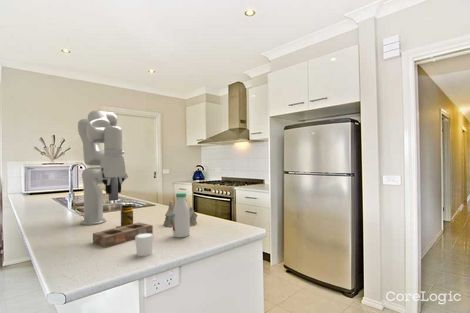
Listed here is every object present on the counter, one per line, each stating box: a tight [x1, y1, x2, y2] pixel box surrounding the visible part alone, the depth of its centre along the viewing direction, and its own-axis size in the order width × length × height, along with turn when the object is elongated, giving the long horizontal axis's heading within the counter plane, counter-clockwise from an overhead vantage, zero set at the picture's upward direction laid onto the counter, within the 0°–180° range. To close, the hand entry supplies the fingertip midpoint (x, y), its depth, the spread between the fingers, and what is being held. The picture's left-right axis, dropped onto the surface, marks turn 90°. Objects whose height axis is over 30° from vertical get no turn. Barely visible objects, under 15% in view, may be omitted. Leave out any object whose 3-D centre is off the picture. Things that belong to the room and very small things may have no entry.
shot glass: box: [134, 233, 155, 257], centre depth 99 cm, size 7×7×7 cm
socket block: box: [92, 222, 154, 248], centre depth 118 cm, size 11×23×4 cm, turn 146°
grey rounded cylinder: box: [108, 177, 119, 202], centre depth 118 cm, size 4×4×12 cm
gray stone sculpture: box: [163, 201, 198, 228], centre depth 143 cm, size 16×16×15 cm
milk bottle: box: [172, 192, 191, 238], centre depth 121 cm, size 8×8×20 cm
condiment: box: [115, 203, 134, 228], centre depth 137 cm, size 7×8×12 cm
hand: (113, 192), depth 118 cm, fingers closed on grey rounded cylinder, 4 cm apart
